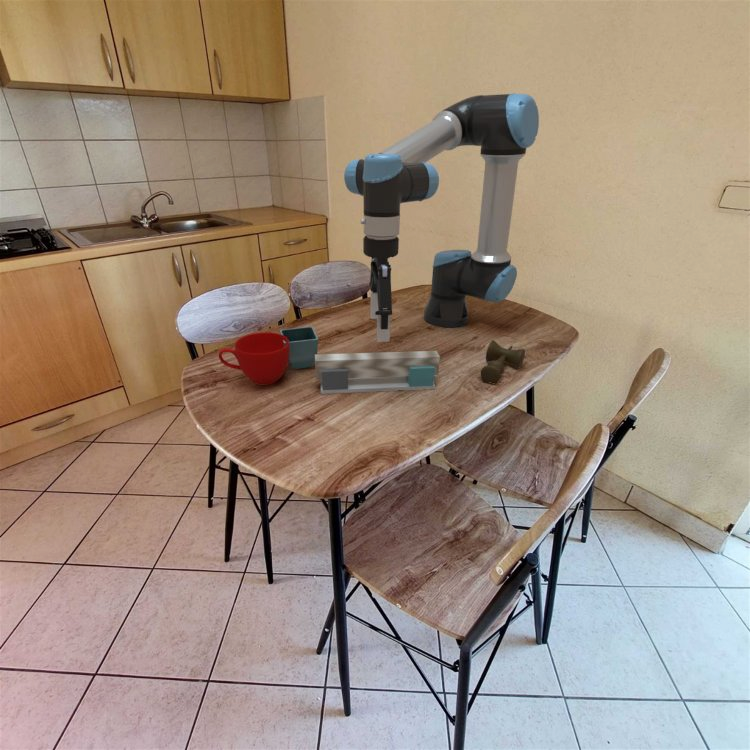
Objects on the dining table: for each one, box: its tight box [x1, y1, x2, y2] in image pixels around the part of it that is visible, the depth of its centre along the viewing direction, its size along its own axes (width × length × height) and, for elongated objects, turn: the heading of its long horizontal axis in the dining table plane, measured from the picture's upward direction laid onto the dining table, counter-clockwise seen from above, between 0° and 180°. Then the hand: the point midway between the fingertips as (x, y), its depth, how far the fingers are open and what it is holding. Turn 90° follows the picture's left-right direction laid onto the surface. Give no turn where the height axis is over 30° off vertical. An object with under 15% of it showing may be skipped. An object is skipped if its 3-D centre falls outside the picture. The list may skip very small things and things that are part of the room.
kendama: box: [480, 340, 526, 384], centre depth 117 cm, size 6×10×20 cm
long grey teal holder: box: [320, 366, 436, 395], centre depth 107 cm, size 28×7×6 cm, turn 97°
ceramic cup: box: [218, 331, 290, 386], centre depth 107 cm, size 13×17×10 cm
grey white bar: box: [314, 350, 441, 381], centre depth 106 cm, size 30×4×5 cm, turn 97°
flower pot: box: [279, 326, 319, 370], centre depth 115 cm, size 9×9×9 cm
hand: (379, 329), depth 102 cm, fingers open, 13 cm apart
